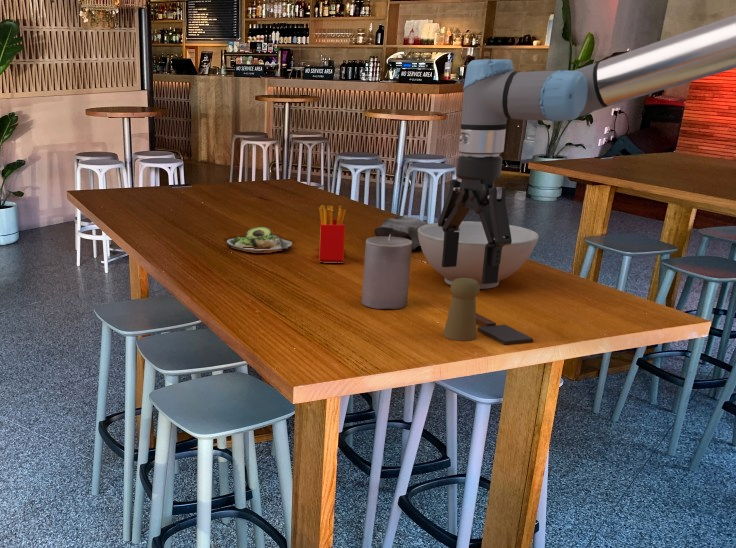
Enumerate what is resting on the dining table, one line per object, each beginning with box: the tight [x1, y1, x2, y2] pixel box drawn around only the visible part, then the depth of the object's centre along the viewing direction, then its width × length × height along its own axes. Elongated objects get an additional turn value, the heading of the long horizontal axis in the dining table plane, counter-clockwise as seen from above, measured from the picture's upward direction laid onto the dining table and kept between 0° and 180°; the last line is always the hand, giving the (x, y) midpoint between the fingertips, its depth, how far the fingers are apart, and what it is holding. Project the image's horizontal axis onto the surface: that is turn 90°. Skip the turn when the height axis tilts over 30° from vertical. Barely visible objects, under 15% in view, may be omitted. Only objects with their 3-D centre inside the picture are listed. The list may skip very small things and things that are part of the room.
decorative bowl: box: [418, 220, 540, 290], centre depth 185 cm, size 27×27×12 cm
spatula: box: [476, 312, 534, 346], centre depth 154 cm, size 18×6×1 cm, turn 15°
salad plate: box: [226, 226, 293, 252], centre depth 223 cm, size 19×18×5 cm
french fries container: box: [318, 204, 348, 263], centre depth 207 cm, size 7×9×14 cm
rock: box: [373, 215, 429, 251], centre depth 224 cm, size 18×11×8 cm, turn 18°
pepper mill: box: [443, 278, 481, 342], centre depth 148 cm, size 6×6×11 cm
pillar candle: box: [361, 234, 413, 310], centre depth 168 cm, size 10×10×15 cm
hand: (468, 274), depth 145 cm, fingers open, 13 cm apart
